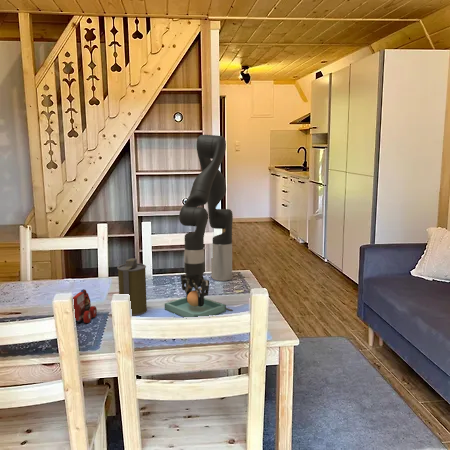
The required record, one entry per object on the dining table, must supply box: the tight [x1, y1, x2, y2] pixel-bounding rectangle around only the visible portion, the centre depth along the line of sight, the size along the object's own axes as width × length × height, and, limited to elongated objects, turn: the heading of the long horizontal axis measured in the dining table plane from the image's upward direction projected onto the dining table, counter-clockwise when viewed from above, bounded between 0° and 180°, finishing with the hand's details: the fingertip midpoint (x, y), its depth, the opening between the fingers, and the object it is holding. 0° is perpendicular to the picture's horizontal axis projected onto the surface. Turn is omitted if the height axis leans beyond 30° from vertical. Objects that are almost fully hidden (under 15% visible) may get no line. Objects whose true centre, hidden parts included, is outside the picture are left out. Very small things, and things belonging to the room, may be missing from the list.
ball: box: [187, 289, 198, 307], centre depth 165 cm, size 6×6×6 cm
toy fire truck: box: [72, 289, 98, 324], centre depth 157 cm, size 7×12×10 cm, turn 175°
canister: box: [116, 257, 148, 317], centre depth 164 cm, size 11×10×20 cm
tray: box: [164, 296, 227, 318], centre depth 166 cm, size 18×15×2 cm
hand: (195, 303), depth 166 cm, fingers closed on ball, 6 cm apart
